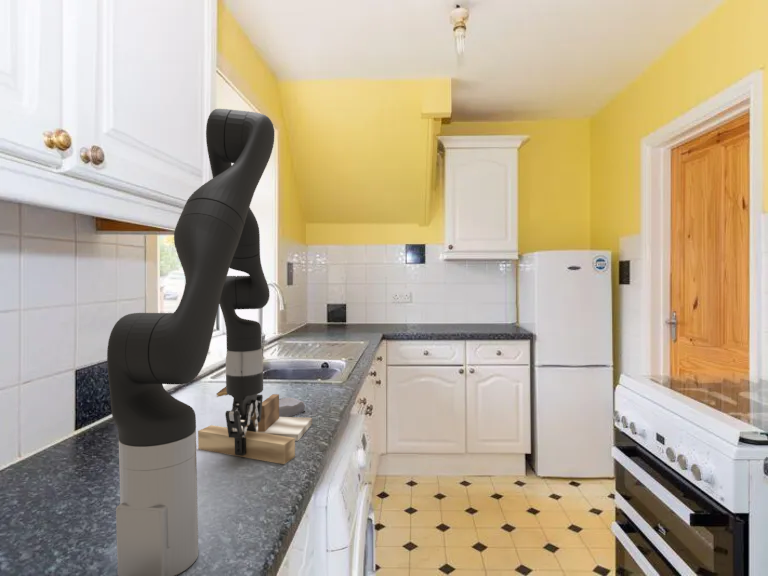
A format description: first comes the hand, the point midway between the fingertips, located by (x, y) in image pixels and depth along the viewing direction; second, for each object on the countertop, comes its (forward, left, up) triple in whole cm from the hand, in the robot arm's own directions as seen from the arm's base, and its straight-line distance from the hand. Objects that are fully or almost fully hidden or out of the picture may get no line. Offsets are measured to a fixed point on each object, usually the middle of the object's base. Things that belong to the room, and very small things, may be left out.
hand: (246, 449), depth 101 cm
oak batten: (0, 0, -1) cm, 1 cm away
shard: (+48, +24, -1) cm, 54 cm away
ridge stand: (+14, 0, -1) cm, 14 cm away
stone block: (+27, +3, -1) cm, 27 cm away
